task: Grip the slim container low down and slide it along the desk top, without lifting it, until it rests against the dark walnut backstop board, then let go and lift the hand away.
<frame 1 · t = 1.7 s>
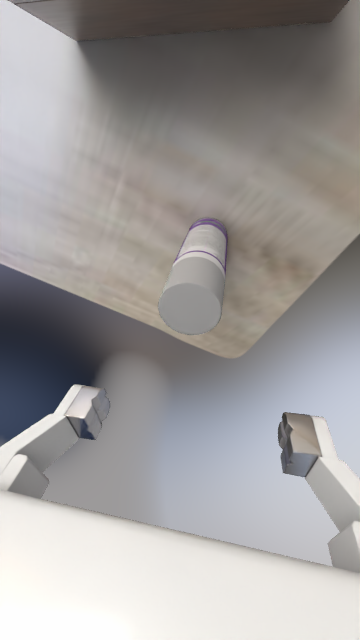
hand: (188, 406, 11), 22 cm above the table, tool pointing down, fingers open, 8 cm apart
container: (207, 237, 28), on the table
backstop: (194, 12, 18), on the table
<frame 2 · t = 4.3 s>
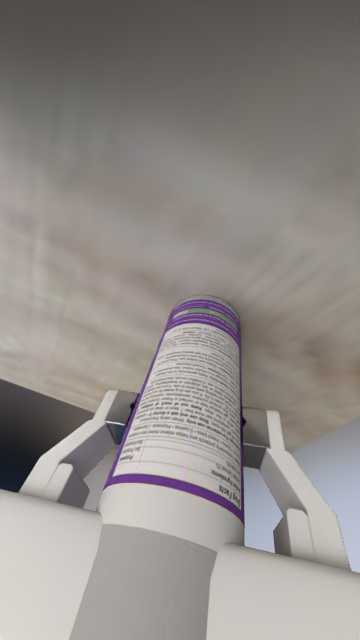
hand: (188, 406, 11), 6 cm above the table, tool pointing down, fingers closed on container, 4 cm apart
container: (204, 323, 16), on the table, touching gripper
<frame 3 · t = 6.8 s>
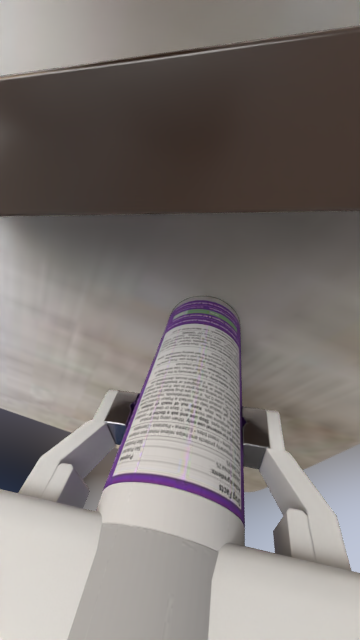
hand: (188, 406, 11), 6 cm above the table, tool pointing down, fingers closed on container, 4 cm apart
container: (204, 324, 16), on the table, touching gripper
backstop: (156, 144, 10), on the table
when the fingers open (6 cm above the table, at t = 9.3 s): container stays where it is, on the table.
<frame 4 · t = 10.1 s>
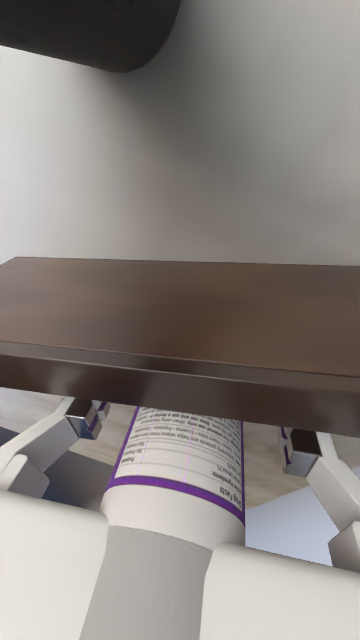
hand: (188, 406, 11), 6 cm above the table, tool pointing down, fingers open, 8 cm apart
container: (204, 325, 16), on the table
backstop: (169, 276, 14), on the table
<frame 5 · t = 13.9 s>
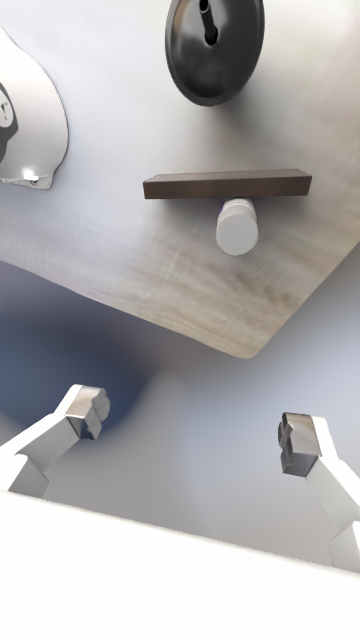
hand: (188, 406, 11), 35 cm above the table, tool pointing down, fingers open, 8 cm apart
drinking cup: (221, 76, 29), on the table
container: (236, 205, 37), on the table
backstop: (224, 179, 36), on the table
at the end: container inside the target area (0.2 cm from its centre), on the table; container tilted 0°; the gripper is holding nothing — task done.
